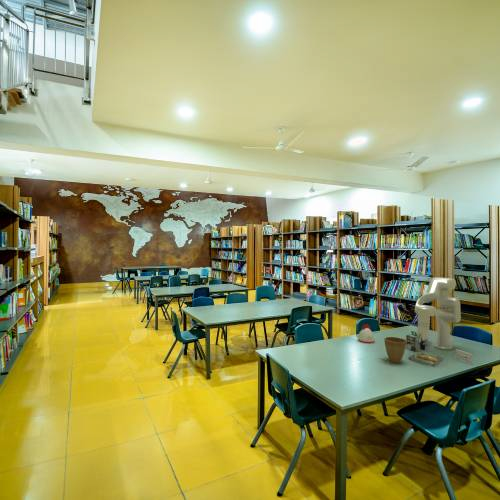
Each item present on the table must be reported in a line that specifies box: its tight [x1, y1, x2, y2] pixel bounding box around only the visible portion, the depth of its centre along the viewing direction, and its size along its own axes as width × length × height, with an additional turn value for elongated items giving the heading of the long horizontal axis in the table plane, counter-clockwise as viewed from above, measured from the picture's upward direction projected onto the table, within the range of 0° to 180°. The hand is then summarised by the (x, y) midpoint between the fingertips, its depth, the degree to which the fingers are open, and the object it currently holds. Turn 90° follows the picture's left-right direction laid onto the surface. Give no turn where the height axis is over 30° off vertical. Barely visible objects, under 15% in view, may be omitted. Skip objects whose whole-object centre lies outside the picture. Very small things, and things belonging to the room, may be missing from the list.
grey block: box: [416, 339, 433, 353], centre depth 230 cm, size 3×10×7 cm, turn 37°
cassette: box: [455, 348, 473, 366], centre depth 229 cm, size 12×2×8 cm, turn 19°
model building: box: [405, 330, 423, 353], centre depth 257 cm, size 9×9×15 cm
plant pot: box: [383, 336, 407, 364], centre depth 231 cm, size 15×15×16 cm
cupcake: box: [357, 323, 376, 345], centre depth 280 cm, size 14×14×15 cm
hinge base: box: [408, 352, 444, 367], centre depth 233 cm, size 18×19×3 cm
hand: (423, 349), depth 230 cm, fingers closed on grey block, 3 cm apart
